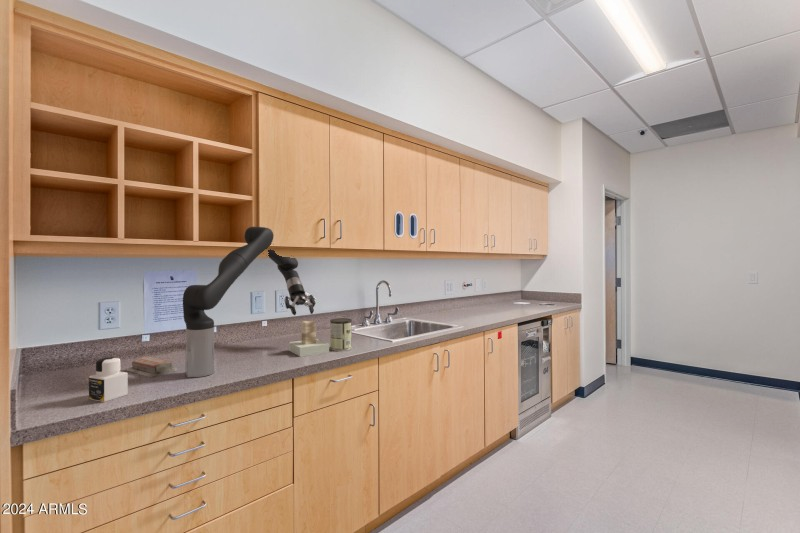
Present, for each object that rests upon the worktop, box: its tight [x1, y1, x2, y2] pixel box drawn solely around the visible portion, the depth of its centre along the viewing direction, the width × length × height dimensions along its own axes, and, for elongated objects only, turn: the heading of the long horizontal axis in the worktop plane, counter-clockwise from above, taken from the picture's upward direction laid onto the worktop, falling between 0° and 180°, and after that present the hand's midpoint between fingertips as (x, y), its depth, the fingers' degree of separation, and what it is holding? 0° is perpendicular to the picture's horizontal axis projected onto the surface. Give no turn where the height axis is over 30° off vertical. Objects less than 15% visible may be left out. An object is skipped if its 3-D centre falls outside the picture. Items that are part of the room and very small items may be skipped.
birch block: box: [301, 320, 317, 345], centre depth 179 cm, size 5×5×10 cm
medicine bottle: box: [88, 356, 129, 403], centre depth 119 cm, size 7×7×12 cm
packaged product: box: [125, 355, 178, 378], centre depth 147 cm, size 18×5×10 cm
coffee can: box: [329, 317, 353, 352], centre depth 186 cm, size 10×10×14 cm
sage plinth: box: [288, 338, 330, 357], centre depth 179 cm, size 14×14×4 cm
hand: (303, 313), depth 185 cm, fingers open, 8 cm apart
